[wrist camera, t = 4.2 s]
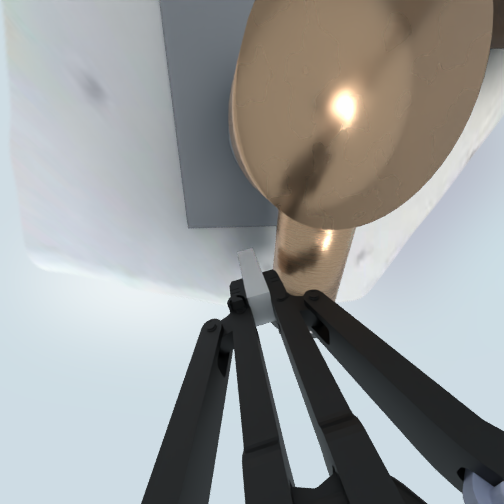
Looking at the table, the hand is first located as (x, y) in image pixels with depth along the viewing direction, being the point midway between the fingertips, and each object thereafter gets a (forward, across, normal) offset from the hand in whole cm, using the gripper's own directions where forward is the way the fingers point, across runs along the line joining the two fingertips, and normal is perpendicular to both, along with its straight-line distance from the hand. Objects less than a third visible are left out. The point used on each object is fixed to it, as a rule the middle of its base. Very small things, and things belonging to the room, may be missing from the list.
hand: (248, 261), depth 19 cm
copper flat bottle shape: (+1, +7, +5) cm, 8 cm away
